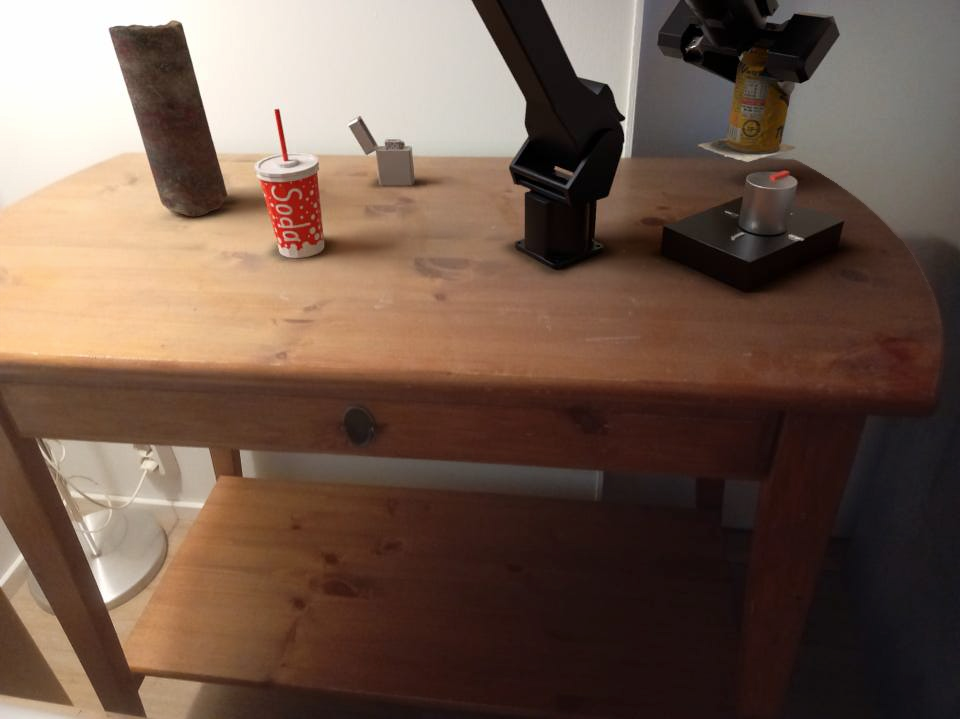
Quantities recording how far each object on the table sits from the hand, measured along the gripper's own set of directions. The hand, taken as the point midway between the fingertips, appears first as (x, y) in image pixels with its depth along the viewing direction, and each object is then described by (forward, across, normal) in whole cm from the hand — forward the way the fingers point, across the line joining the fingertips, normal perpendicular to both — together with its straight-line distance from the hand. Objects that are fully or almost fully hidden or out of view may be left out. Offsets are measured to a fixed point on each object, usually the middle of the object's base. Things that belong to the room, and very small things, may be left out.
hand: (766, 87), depth 82 cm
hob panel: (-4, -12, +19) cm, 23 cm away
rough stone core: (-31, +35, +47) cm, 67 cm away
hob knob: (-6, -13, +17) cm, 22 cm away
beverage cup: (-27, +16, +44) cm, 54 cm away
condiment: (+4, 0, +6) cm, 7 cm away
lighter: (-16, +28, +32) cm, 45 cm away
